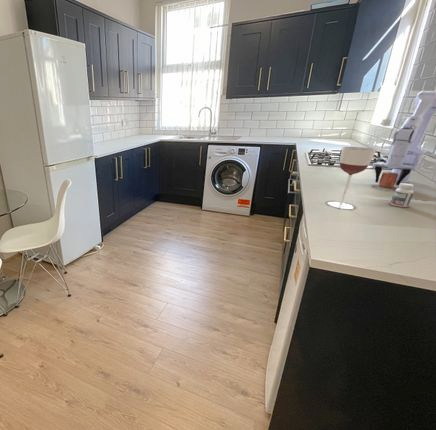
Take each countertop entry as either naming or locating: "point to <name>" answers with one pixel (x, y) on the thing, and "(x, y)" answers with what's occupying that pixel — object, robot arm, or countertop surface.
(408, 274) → the countertop surface
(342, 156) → the wineglass
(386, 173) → the mug
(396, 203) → the pill bottle
